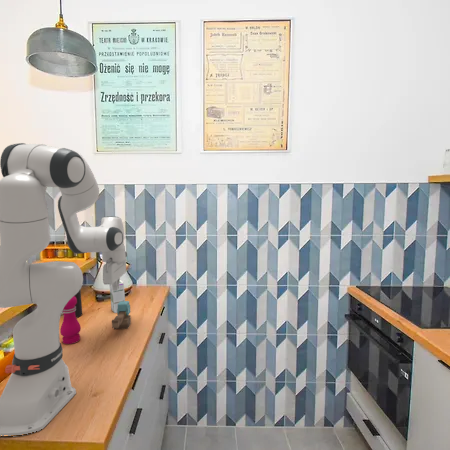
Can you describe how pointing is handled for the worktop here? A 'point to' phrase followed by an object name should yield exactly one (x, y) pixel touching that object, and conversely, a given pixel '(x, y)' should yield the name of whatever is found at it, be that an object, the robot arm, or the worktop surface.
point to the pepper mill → (70, 323)
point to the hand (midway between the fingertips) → (116, 289)
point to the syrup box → (117, 296)
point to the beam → (121, 321)
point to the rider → (123, 307)
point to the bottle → (78, 304)
